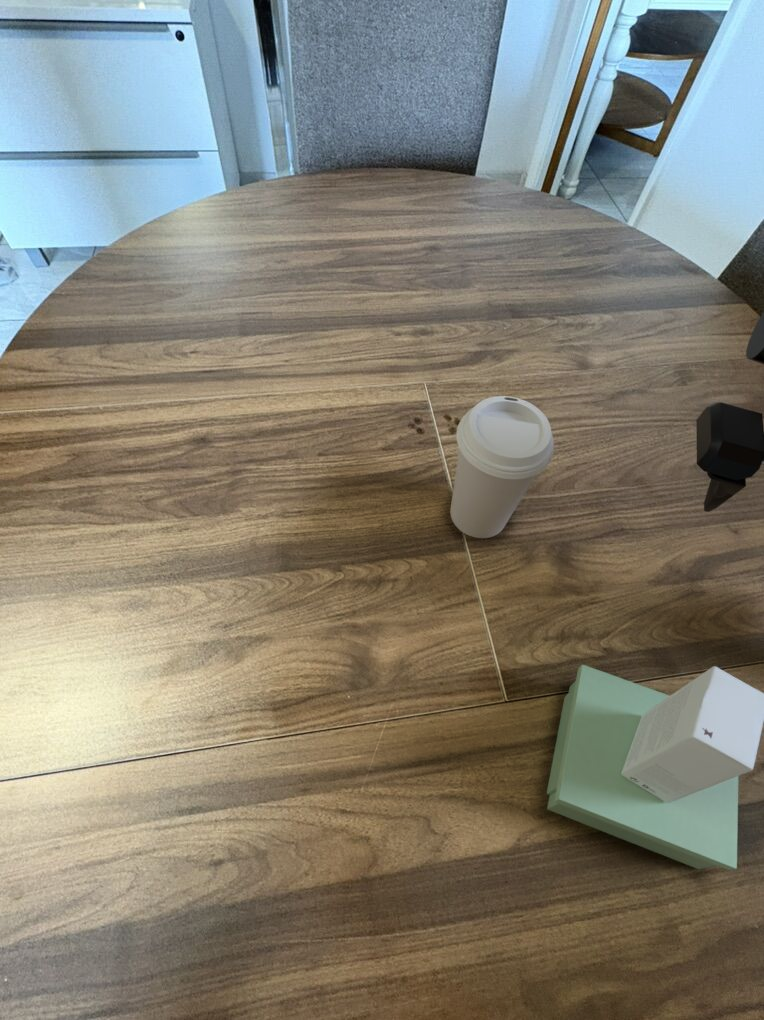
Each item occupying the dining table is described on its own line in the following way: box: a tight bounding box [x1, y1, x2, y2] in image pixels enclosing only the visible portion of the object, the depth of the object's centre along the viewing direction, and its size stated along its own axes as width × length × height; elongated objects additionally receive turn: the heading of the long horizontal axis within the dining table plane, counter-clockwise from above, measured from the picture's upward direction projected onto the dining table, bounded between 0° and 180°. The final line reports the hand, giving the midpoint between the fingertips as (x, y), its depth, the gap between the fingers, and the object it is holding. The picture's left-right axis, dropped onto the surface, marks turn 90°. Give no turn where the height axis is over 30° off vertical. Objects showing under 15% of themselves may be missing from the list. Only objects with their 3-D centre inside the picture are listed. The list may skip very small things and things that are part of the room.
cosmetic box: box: [621, 665, 764, 803], centre depth 46 cm, size 6×4×12 cm
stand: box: [546, 664, 739, 871], centre depth 53 cm, size 14×12×5 cm
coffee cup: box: [449, 395, 555, 539], centre depth 64 cm, size 10×10×15 cm
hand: (755, 522), depth 56 cm, fingers open, 9 cm apart
